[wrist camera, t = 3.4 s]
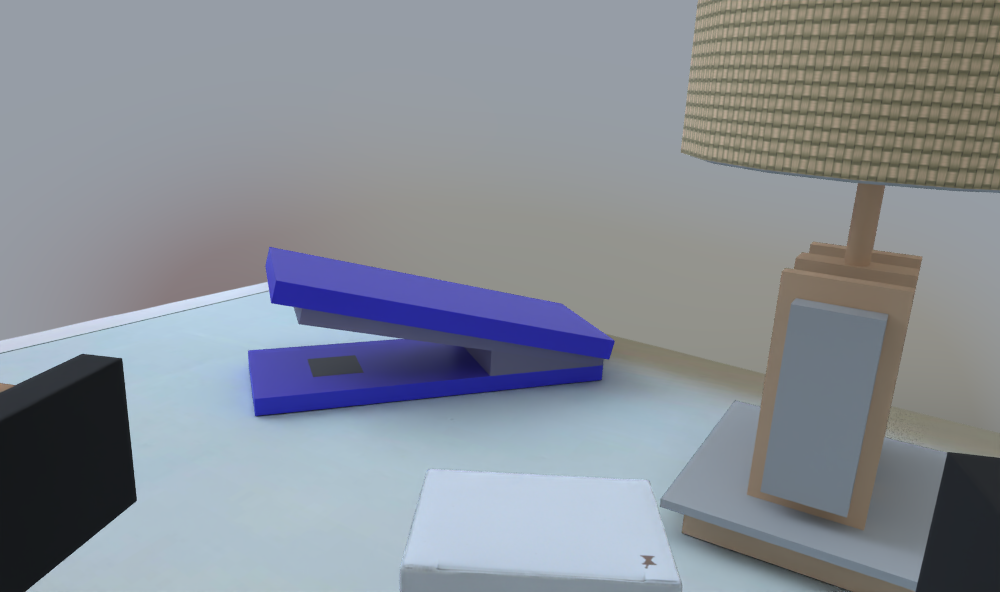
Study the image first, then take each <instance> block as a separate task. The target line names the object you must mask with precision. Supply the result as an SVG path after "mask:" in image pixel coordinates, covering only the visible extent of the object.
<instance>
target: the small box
mask: <svg viewBox="0 0 1000 592" xmlns="http://www.w3.org/2000/svg"><path fill="white" fill-rule="evenodd" d="M400 592H682V583H681V580H680V577H679V574H678V570H677V567H676V564H675V561H674V558H673V555H672V552H671V548H670V545H669V542H668V539H667V535H666V532H665V529H664V526H663V523H662V519H661V516H660V513H659V510H658V506H657V503H656V500H655V497H654V494H653V491H652V488H651V484H650V481H649V480H637V479H615V478H598V477H580V476H560V475H539V474H522V473H500V472H483V471H464V470H445V469H429V470H428V471H427V472H426V475H425V479H424V482H423V486H422V489H421V493H420V496H419V500H418V504H417V507H416V511H415V515H414V518H413V522H412V525H411V529H410V533H409V536H408V540H407V544H406V547H405V551H404V555H403V558H402V562H401V566H400Z"/></svg>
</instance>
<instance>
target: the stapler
mask: <svg viewBox="0 0 1000 592" xmlns="http://www.w3.org/2000/svg"><path fill="white" fill-rule="evenodd" d="M266 272H267V279H268V285H269V292H270V298H271V303H274V304H280V305H286V306H292V307H294V310H295V313H296V316H297V320H298V323H299V324H302V325H309V326H317V327H324V328H331V329H338V330H345V331H352V332H360V333H367V334H374V335H381V336H388V337H396V338H403V339H396V340H383V341H369V342H356V343H343V344H329V345H316V346H303V347H289V348H276V349H263V350H249V351H248V359H249V371H250V379H251V387H252V395H253V403H254V411H255V416H260V415H270V414H279V413H289V412H299V411H308V410H318V409H327V408H337V407H346V406H356V405H366V404H375V403H385V402H394V401H404V400H413V399H423V398H432V397H442V396H452V395H461V394H471V393H480V392H490V391H499V390H509V389H519V388H528V387H538V386H547V385H557V384H566V383H576V382H586V381H595V380H602V370H603V359H609V358H610V355H611V352H612V348H613V345H614V342H615V341H614V340H613V339H611V338H610V337H609V336H607V335H606V334H604V333H603V332H601V331H600V330H599V329H597V328H596V327H594V326H593V325H591V324H590V323H589V322H587V321H586V320H584V319H583V318H581V317H580V316H579V315H577V314H575V313H574V312H573V311H571V310H570V309H568V308H567V307H566V306H564V305H563V304H560V303H555V302H550V301H544V300H540V299H535V298H529V297H524V296H519V295H514V294H509V293H504V292H499V291H493V290H488V289H483V288H478V287H473V286H468V285H462V284H457V283H452V282H447V281H442V280H437V279H432V278H427V277H422V276H416V275H411V274H406V273H400V272H396V271H391V270H386V269H380V268H375V267H370V266H365V265H359V264H354V263H349V262H344V261H339V260H334V259H329V258H324V257H318V256H314V255H308V254H303V253H298V252H293V251H288V250H283V249H277V248H272V247H269V252H268V257H267V261H266Z"/></svg>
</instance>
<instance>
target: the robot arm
mask: <svg viewBox="0 0 1000 592" xmlns="http://www.w3.org/2000/svg"><path fill="white" fill-rule="evenodd" d="M136 501H137V498H136V488H135V478H134V469H133V459H132V449H131V440H130V430H129V420H128V411H127V401H126V391H125V382H124V372H123V362H122V358H114V357H105V356H96V355H87V354H81V355H79V356H77V357H75V358H73V359H70V360H68V361H66V362H64V363H62V364H60V365H58V366H56V367H53V368H51V369H49V370H47V371H45V372H43V373H41V374H39V375H36V376H34V377H32V378H30V379H28V380H26V381H24V382H22V383H19V384H17V385H15V386H13V387H11V388H9V389H7V390H5V391H2V392H0V592H25V591H26V590H28V589H29V588H30V587H31V586H33V585H34V584H35V583H36V582H38V581H39V580H40V579H41V578H42V577H44V576H45V575H46V574H47V573H49V572H50V571H51V570H52V569H53V568H55V567H56V566H57V565H58V564H60V563H61V562H62V561H63V560H65V559H66V558H67V557H68V556H69V555H71V554H72V553H73V552H74V551H76V550H77V549H78V548H79V547H81V546H82V545H83V544H84V543H85V542H87V541H88V540H89V539H90V538H92V537H93V536H94V535H95V534H96V533H98V532H99V531H100V530H101V529H103V528H104V527H105V526H106V525H108V524H109V523H110V522H111V521H112V520H114V519H115V518H116V517H117V516H119V515H120V514H121V513H122V512H123V511H125V510H126V509H127V508H128V507H130V506H131V505H132V504H133V503H135V502H136ZM916 592H1000V458H996V457H987V456H978V455H969V454H960V453H952V452H947V457H946V461H945V465H944V470H943V474H942V478H941V483H940V487H939V492H938V496H937V500H936V505H935V509H934V513H933V518H932V522H931V526H930V531H929V535H928V539H927V544H926V548H925V552H924V557H923V561H922V565H921V570H920V574H919V578H918V583H917V587H916Z"/></svg>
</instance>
